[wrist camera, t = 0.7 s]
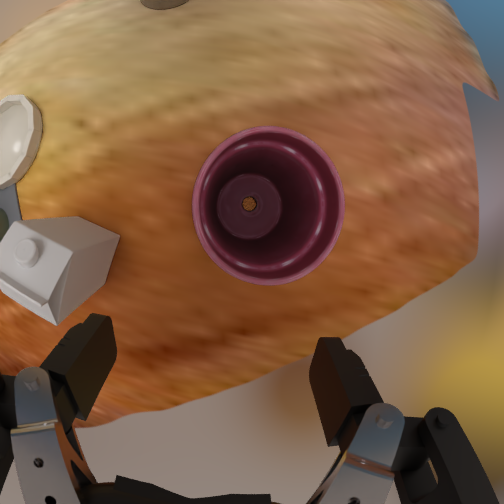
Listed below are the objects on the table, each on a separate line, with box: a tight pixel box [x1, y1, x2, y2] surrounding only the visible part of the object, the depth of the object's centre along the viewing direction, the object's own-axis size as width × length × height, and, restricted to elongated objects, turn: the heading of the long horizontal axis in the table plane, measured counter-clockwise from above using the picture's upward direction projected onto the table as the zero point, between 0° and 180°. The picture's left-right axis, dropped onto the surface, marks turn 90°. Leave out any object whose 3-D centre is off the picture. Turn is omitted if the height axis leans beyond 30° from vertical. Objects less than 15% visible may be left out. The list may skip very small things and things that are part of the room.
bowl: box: [0, 95, 43, 189], centre depth 25 cm, size 14×14×3 cm
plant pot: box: [192, 126, 345, 285], centre depth 29 cm, size 14×14×13 cm
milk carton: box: [0, 216, 120, 326], centre depth 23 cm, size 7×7×19 cm
